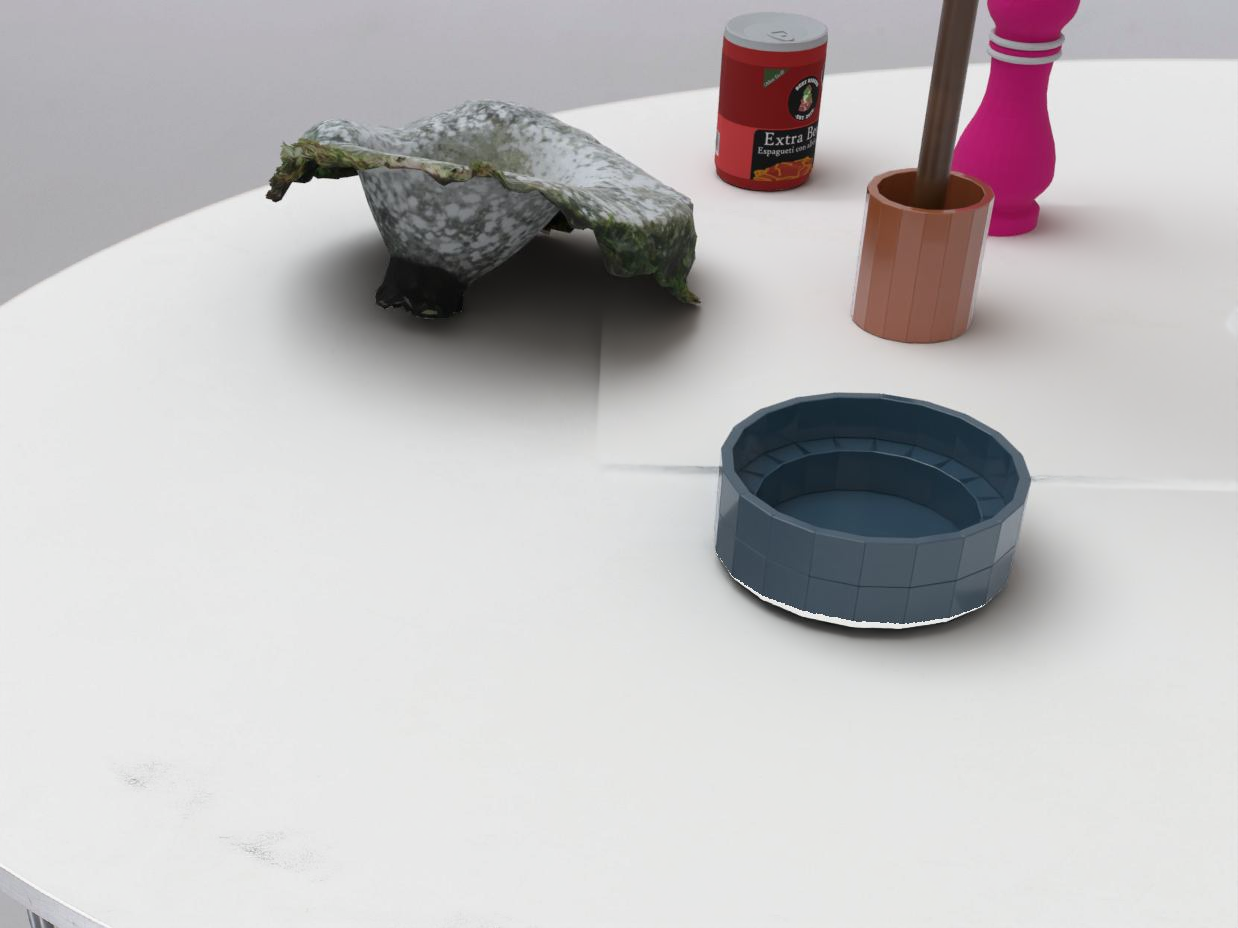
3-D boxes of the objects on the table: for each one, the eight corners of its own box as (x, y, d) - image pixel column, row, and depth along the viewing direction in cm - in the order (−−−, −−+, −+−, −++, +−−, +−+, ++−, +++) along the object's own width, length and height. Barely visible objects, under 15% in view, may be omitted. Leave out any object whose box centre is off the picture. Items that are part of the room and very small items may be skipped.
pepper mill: (1024, 254, 116) (1086, -52, 104) (926, 234, 119) (974, -66, 107) (1055, 220, 121) (1117, -77, 108) (959, 201, 124) (1010, -89, 111)
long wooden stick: (922, 304, 109) (987, -95, 94) (930, 330, 106) (998, -78, 90) (891, 303, 109) (951, -95, 94) (898, 330, 106) (961, -78, 91)
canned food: (758, 200, 125) (772, 48, 118) (692, 169, 130) (701, 22, 123) (834, 178, 128) (852, 30, 121) (766, 149, 133) (779, 5, 126)
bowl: (983, 485, 92) (1001, 395, 88) (1033, 644, 80) (1056, 548, 76) (709, 478, 93) (716, 388, 89) (718, 634, 81) (727, 538, 77)
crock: (959, 302, 110) (983, 168, 105) (977, 353, 104) (1003, 214, 99) (844, 300, 111) (862, 166, 105) (856, 350, 105) (875, 212, 99)
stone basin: (226, 300, 94) (243, 17, 90) (278, 299, 122) (292, 85, 119) (732, 353, 95) (770, 77, 91) (666, 341, 124) (692, 130, 120)
